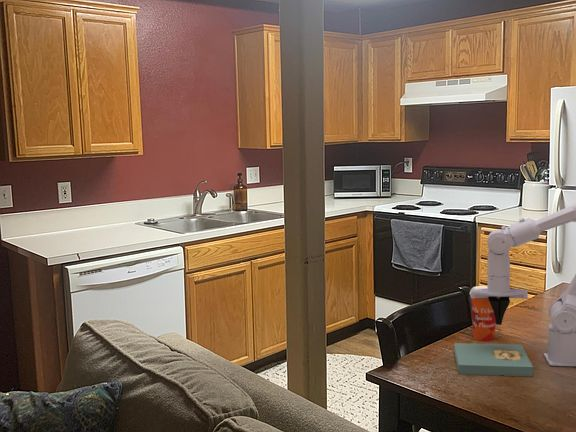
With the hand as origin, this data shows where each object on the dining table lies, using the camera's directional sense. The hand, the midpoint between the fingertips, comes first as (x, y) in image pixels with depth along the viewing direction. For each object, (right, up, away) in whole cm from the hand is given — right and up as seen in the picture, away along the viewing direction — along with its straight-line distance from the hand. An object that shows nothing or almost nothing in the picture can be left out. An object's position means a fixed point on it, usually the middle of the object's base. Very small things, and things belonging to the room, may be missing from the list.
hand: (498, 323), depth 167 cm
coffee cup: (+1, -7, +16) cm, 18 cm away
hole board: (-3, -10, -3) cm, 11 cm away
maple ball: (+1, -9, -4) cm, 9 cm away
